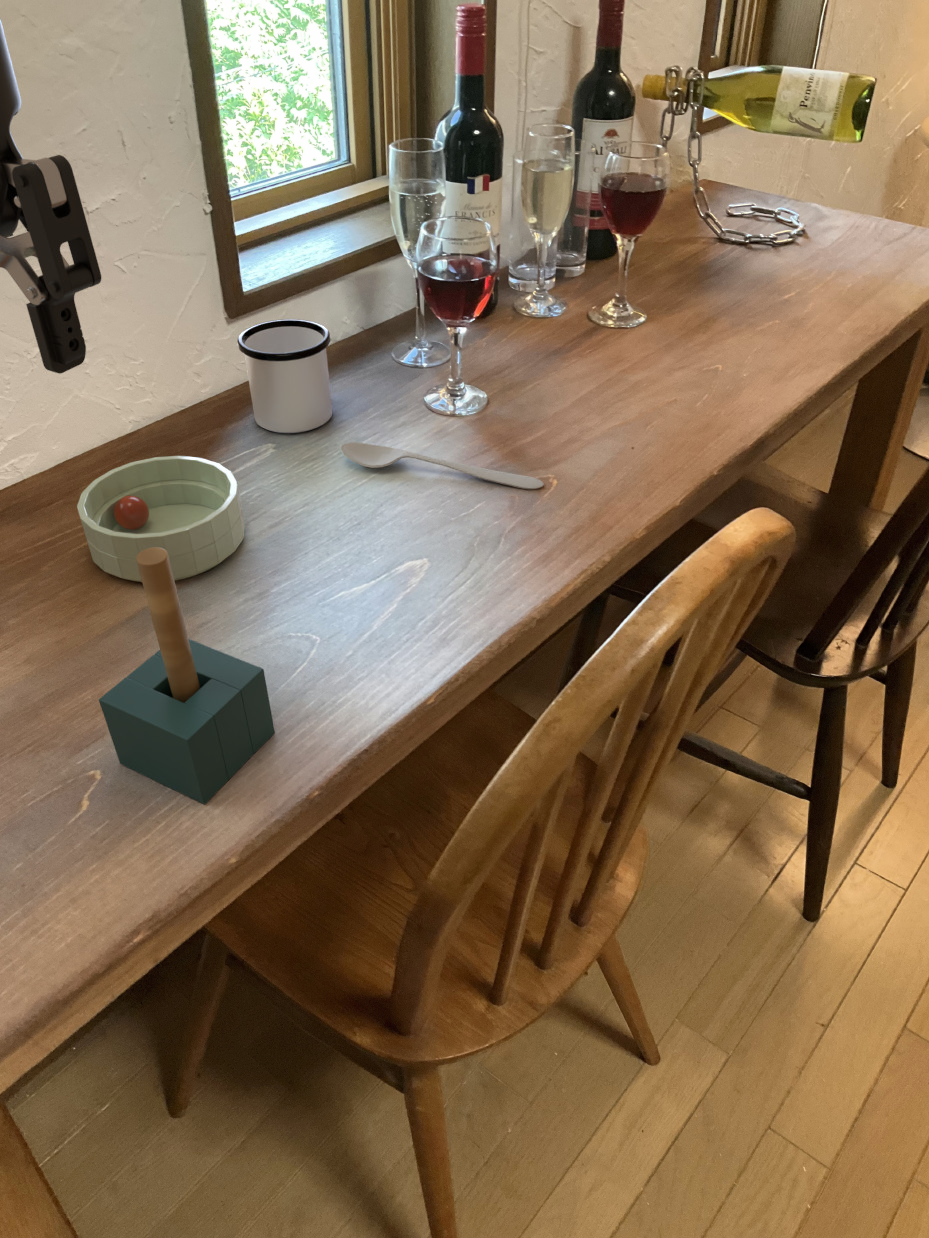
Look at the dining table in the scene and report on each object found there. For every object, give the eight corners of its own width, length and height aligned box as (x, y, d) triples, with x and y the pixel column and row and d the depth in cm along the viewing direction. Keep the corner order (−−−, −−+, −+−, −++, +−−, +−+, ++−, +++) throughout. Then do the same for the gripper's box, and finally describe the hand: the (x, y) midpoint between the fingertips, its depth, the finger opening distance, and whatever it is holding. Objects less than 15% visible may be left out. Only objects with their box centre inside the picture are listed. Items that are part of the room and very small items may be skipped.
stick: (201, 760, 65) (152, 568, 55) (181, 750, 66) (129, 559, 55) (219, 743, 66) (174, 552, 56) (199, 734, 67) (151, 543, 57)
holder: (204, 805, 62) (187, 740, 58) (119, 763, 65) (98, 699, 61) (275, 732, 67) (263, 668, 63) (193, 697, 70) (178, 633, 66)
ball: (130, 513, 83) (102, 517, 84) (150, 534, 85) (122, 538, 86) (140, 486, 84) (112, 491, 85) (159, 507, 87) (132, 512, 88)
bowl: (175, 604, 78) (163, 554, 75) (59, 559, 83) (43, 510, 80) (275, 526, 87) (268, 478, 84) (165, 489, 92) (154, 443, 89)
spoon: (349, 449, 98) (348, 434, 97) (547, 475, 94) (548, 460, 93) (334, 468, 95) (333, 454, 94) (538, 497, 91) (539, 482, 90)
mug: (310, 444, 99) (300, 361, 93) (232, 428, 102) (218, 346, 96) (363, 396, 108) (357, 317, 102) (290, 382, 110) (280, 305, 105)
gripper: (-276, -1, 43) (-134, 349, 53) (-63, 22, 37) (49, 407, 47) (-123, -17, 48) (-20, 305, 58) (84, 2, 42) (157, 353, 52)
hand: (11, 351), depth 52 cm, fingers open, 8 cm apart
